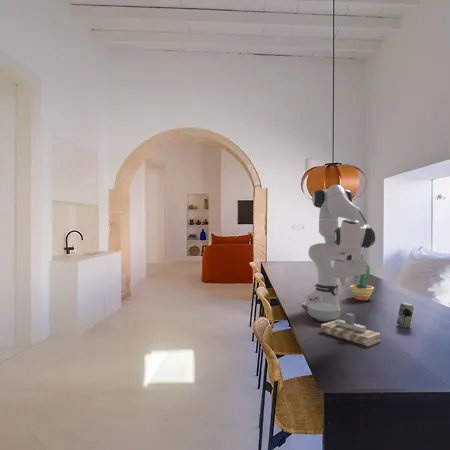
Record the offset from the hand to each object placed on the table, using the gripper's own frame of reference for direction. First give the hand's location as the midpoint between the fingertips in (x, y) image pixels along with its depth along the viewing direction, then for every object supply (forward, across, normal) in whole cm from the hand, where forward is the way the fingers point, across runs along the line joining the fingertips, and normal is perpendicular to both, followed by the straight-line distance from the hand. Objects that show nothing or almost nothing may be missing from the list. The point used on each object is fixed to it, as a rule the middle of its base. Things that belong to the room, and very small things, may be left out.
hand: (350, 285), depth 160 cm
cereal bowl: (+23, -13, -24) cm, 36 cm away
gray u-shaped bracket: (+23, 0, 0) cm, 23 cm away
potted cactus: (+23, -75, -40) cm, 88 cm away
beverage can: (+23, -35, +8) cm, 42 cm away
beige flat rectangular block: (+23, 0, 0) cm, 23 cm away
